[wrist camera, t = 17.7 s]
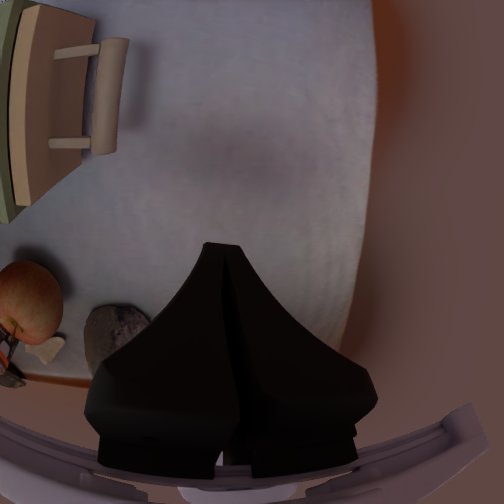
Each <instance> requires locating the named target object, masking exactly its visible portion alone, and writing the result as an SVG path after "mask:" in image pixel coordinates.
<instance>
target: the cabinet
mask: <svg viewBox="0 0 504 504" xmlns="http://www.w3.org/2000/svg"><path fill="white" fill-rule="evenodd" d="M39 4H42V3H38V2H34V1H29V0H8V1H6V2H4V3H2V4H0V223H7V224H9V223H10V222H11V221H12V220H13V219H14V218H15V217H16V216H17V215H18V214H19V213H20V212H21V211H22V210H23V209H24V208H26V207H27V206H21V205H16V201H15V195H14V188H13V182H12V183H11V180H10V172H9V162H8V148H7V93H8V79H9V70H10V61H11V54H12V48H13V42H14V37H15V32H16V30H18V28H19V24H20V19H21V15H22V11H23V10H24V9H27V8H30V7H33V6H36V5H39ZM42 5H46V4H42ZM46 6H50V5H46ZM50 7H53V6H50ZM54 8H57V7H54ZM57 9H60V8H57ZM61 10H64V9H61ZM64 11H67V10H64ZM68 12H70V11H68ZM71 13H73V12H71ZM74 14H76V13H74ZM77 15H79V14H77ZM80 16H82V15H80ZM83 17H85V16H83ZM86 18H87V17H86Z"/></svg>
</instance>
